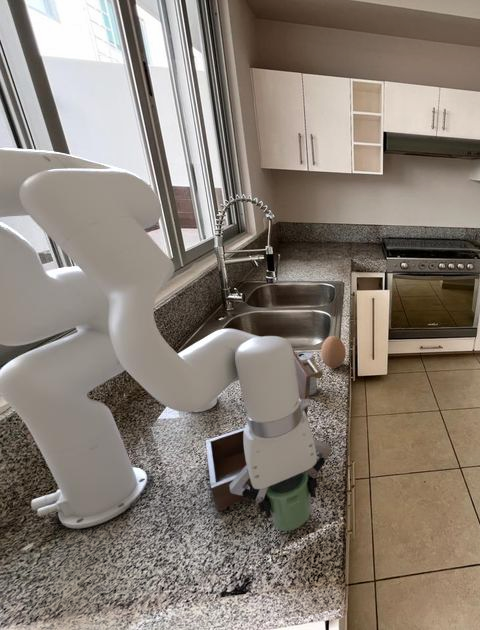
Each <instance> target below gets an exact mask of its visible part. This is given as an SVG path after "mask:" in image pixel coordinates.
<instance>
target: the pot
mask: <svg viewBox="0 0 480 630" xmlns="http://www.w3.org/2000/svg"><path fill="white" fill-rule="evenodd" d="M266 495H267V498H268V502H269V507H270V511H271V516H270V518H271V522H272V525H273V526H274V527H275V528H276V529H277V530H279V531H283V532H288V531H293V530H296V529H298V528H299V527H301V526H303V525H304V524H305V523H306V522H307V520H308V519H309V518H310V516H311V512H312V505H311V496H310V493H309V489H308V473H306V472H305V471H304V472H302V473H300V474H297V475H295V476H293V477H290V478H288V479H286V480H283V481H281V482H279V483H276V484H274V485H271V486H269V487H268V489H267V492H266Z"/></svg>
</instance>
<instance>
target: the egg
mask: <svg viewBox="0 0 480 630" xmlns="http://www.w3.org/2000/svg"><path fill="white" fill-rule="evenodd" d="M346 353H347V352H346V347H345V344H344V342H343V341H342V340H341V339H340V337H338V336H336V335H330V336H328V337H327V338H325V339H324V341H323V343H322V345H321V349H320V356H321V361H322V362H323V363H324V364H325V366H326V367H328V368H331V369H337V368H339V367H341V366H342V365H343V364H344V362H345V361H346V360H345V359H346V355H347V354H346Z"/></svg>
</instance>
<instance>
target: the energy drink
mask: <svg viewBox="0 0 480 630" xmlns="http://www.w3.org/2000/svg"><path fill="white" fill-rule="evenodd" d="M296 354H297V356H298V357H299V359H300V360H301V362H307V360H309V359H313V360H314V361H315V355H314V354H313V352H311V351H307V350H306V351H305V350H304V351H299V352H296ZM305 368H306V369H307V371H308V372H309V373H312V372H311V370H310V369H309V367H308V366H305ZM315 393H318V382H317V378H316V377H311V379H310V390H309V396H312V395H314V394H315Z"/></svg>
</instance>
